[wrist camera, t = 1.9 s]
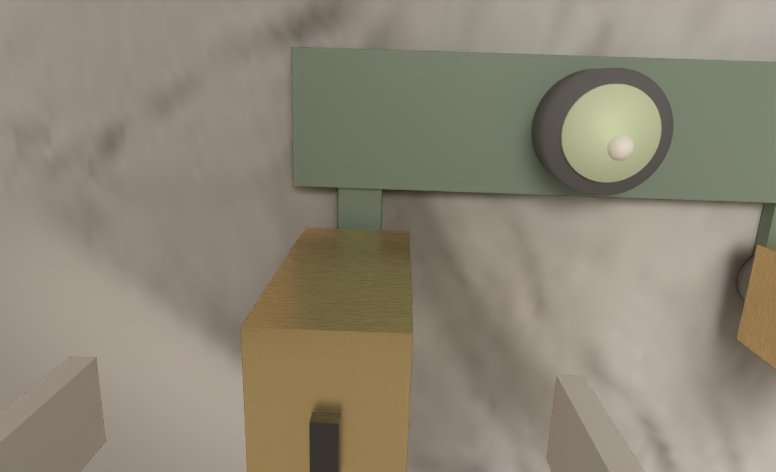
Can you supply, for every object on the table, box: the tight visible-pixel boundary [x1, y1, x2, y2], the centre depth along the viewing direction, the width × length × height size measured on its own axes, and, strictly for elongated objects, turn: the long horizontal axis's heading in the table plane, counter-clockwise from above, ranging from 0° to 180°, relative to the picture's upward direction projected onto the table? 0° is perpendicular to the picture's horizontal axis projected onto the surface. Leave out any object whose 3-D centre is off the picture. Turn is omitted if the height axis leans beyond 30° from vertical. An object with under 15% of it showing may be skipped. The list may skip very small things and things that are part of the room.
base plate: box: [291, 47, 776, 300], centre depth 24 cm, size 12×26×4 cm, turn 88°
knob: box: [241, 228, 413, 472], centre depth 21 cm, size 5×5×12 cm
